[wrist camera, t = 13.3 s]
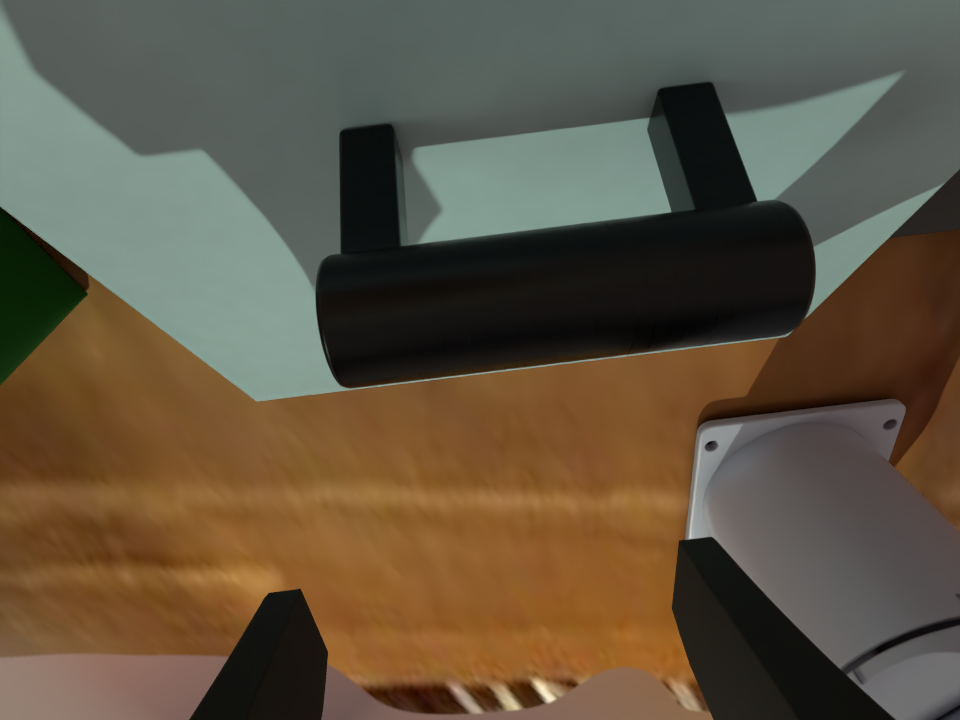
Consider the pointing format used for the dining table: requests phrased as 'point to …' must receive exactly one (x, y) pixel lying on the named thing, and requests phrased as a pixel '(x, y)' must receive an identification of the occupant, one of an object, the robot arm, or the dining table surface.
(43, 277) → the milk carton
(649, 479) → the dining table surface
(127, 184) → the freezer lid
